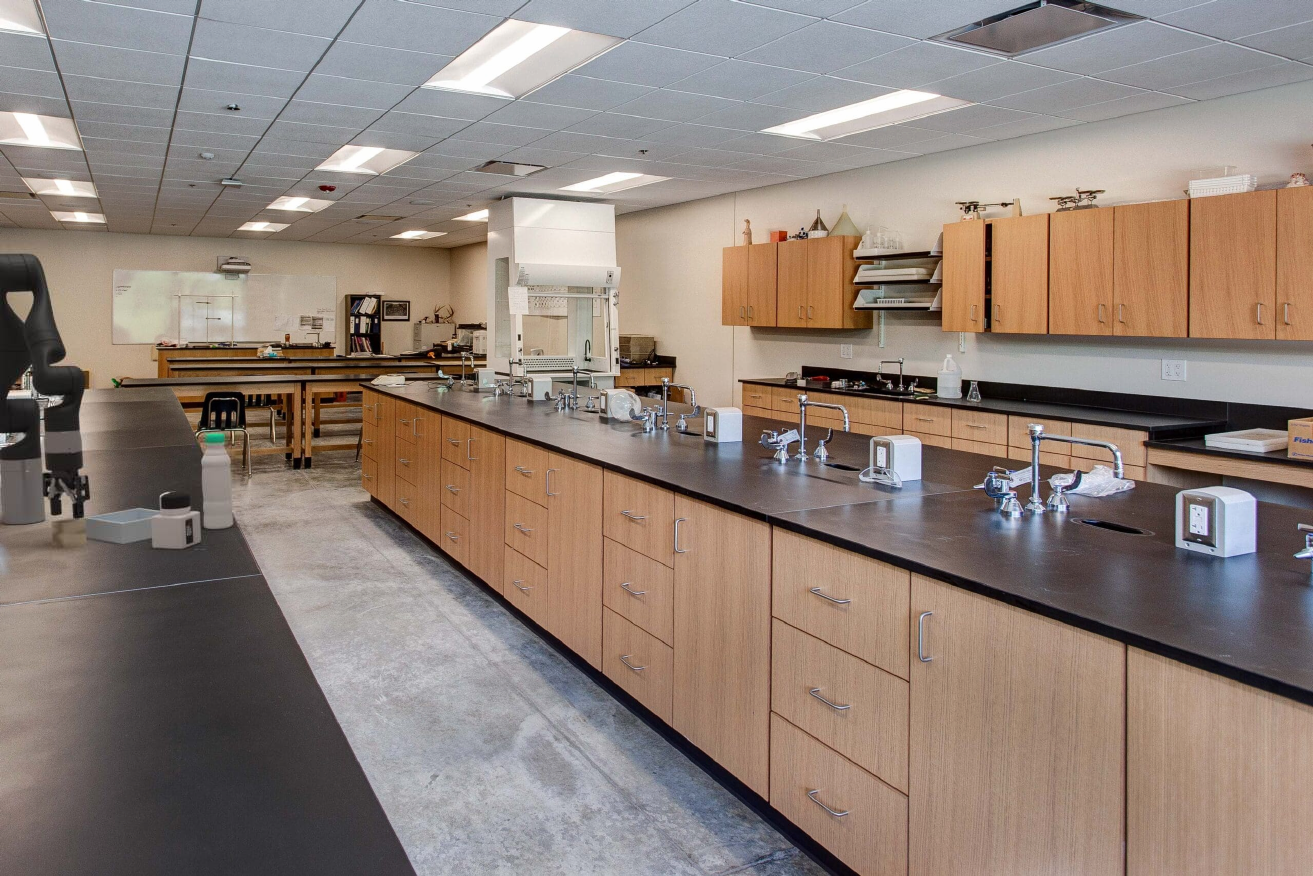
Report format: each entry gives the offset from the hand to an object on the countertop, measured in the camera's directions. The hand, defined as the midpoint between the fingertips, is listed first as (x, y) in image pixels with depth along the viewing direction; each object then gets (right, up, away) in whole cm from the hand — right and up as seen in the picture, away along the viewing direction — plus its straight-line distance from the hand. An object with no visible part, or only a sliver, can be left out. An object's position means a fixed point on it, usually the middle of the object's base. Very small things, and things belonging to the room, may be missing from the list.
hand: (67, 516), depth 214 cm
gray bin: (+8, -6, +13) cm, 16 cm away
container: (+25, -7, +3) cm, 26 cm away
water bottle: (+25, -5, +24) cm, 35 cm away
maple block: (0, -7, +1) cm, 7 cm away
